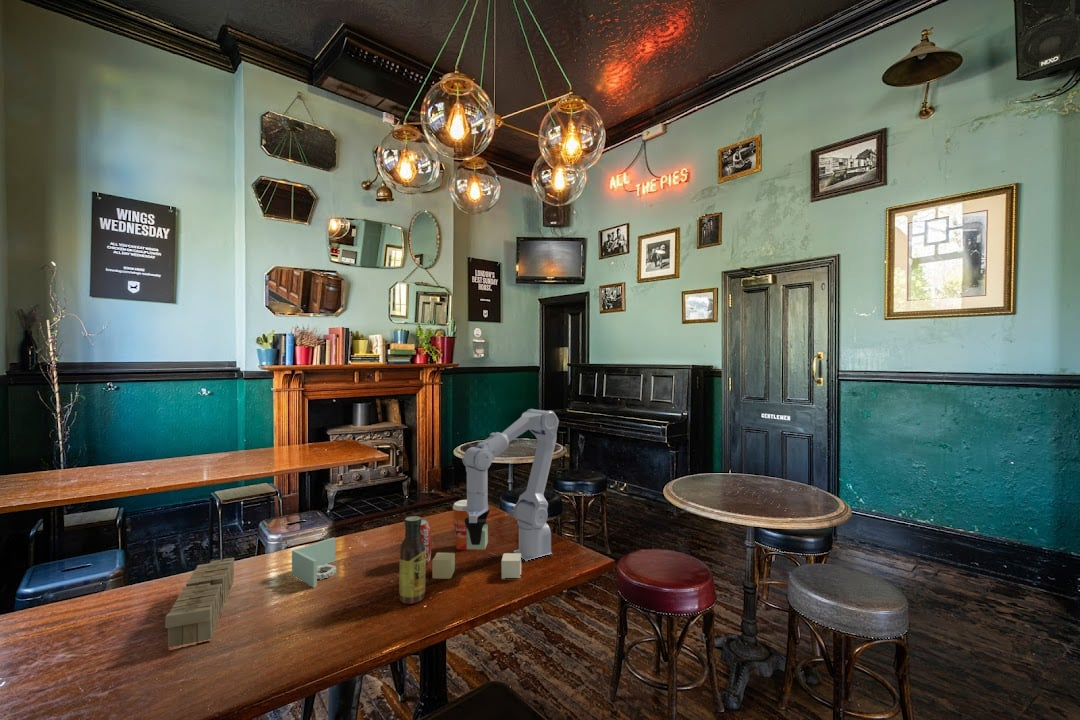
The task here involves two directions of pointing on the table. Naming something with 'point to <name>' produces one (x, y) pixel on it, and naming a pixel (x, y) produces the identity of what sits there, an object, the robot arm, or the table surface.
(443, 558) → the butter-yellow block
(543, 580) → the table surface
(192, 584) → the block tower
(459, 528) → the paper cup
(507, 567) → the cream block
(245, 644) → the table surface
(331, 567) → the right angle wall
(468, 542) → the sage green block
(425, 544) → the soda can
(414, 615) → the table surface
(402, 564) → the sauce bottle
